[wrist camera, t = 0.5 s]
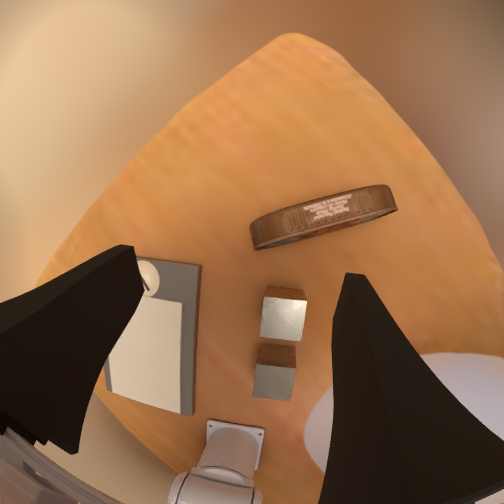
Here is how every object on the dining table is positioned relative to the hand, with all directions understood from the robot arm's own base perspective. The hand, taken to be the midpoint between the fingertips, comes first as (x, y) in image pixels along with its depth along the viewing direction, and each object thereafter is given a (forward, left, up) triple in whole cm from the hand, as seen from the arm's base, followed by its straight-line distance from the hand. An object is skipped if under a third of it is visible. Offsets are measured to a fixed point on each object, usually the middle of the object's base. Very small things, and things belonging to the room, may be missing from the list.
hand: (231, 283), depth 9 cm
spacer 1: (-6, -2, -23) cm, 23 cm away
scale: (-13, +15, -23) cm, 30 cm away
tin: (+4, -5, -23) cm, 24 cm away
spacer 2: (-13, -2, -23) cm, 26 cm away
